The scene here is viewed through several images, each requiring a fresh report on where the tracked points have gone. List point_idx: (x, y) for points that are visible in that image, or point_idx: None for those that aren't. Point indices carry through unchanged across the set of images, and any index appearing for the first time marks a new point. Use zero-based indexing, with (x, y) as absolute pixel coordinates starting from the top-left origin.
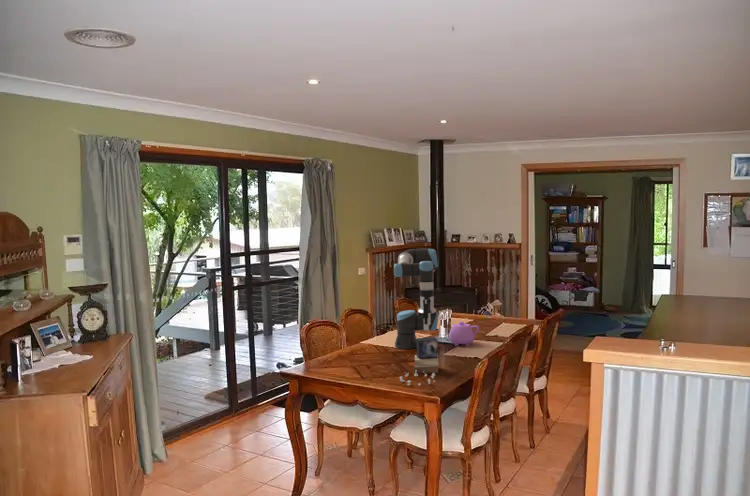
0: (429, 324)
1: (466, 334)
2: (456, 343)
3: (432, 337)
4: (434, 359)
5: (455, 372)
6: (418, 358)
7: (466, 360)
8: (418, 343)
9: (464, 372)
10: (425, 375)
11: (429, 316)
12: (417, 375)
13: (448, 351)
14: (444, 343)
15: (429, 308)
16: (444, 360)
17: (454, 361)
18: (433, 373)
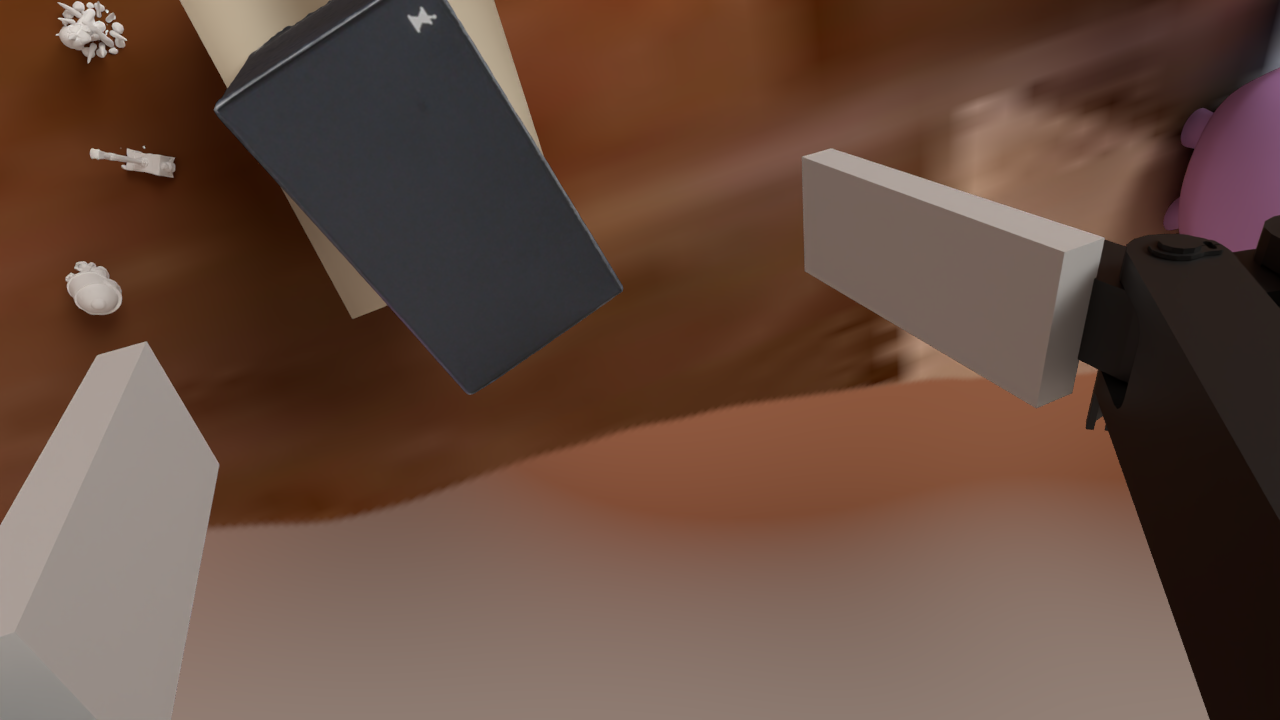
0: (809, 252)
1: (1255, 246)
2: (1198, 142)
3: (598, 266)
4: (346, 267)
5: (437, 394)
6: (291, 24)
7: (810, 342)
8: (287, 47)
9: (467, 455)
10: (129, 167)
11: (957, 339)
12: (98, 53)
13: (1053, 116)
14: (1272, 6)
15: (1162, 568)
16: (791, 170)
17: (772, 265)
18: (85, 303)
